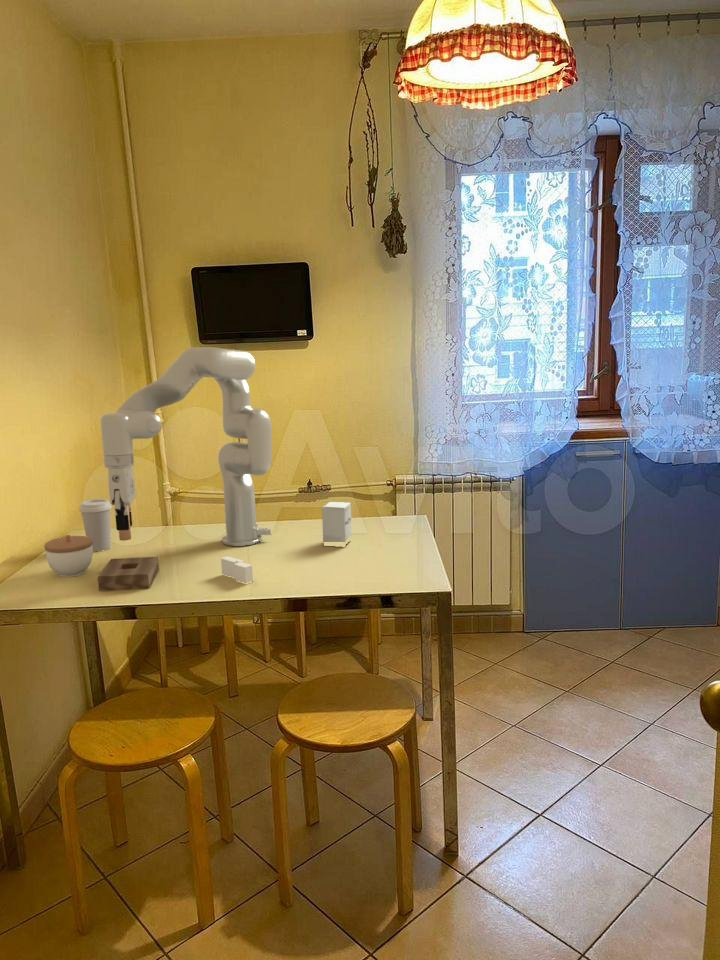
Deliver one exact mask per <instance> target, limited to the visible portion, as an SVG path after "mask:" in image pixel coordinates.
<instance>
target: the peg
mask: <svg viewBox="0 0 720 960" xmlns="http://www.w3.org/2000/svg"><path fill="white" fill-rule="evenodd" d="M120 504H124V502H120ZM121 507H123V506H121ZM126 507H127V515H128V519H129V530H118V537H119V539H118V540H119V541H124V542H125V541H129V540H132V533H131V526H130V517H129V512H130V511H129V505H127V503H126ZM123 509H124V508H123Z"/></svg>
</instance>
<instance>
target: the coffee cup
mask: <svg viewBox="0 0 720 960" xmlns="http://www.w3.org/2000/svg"><path fill="white" fill-rule="evenodd" d="M112 508H113V505H112V504H111V502H110V500H108V499H106V498H105V499H103V498H95V499H88V500H84V501H82V502H81V504H80V507H79V510H78V511H79V512H80V514H81V517H82V523H83V528H84V532H85V533H84V534H85V536H86V537H90V538H92V540H93V544H92V545H93V551H100V552H103V551H102V550H105V551H107V550H106V549H108V550H110V549H111V548H110V547H111V546H112V544H111V543H112V542H111V541H112V540H111V539H112V538H111V532H112V531H111V528H112V527H111V509H112ZM109 548H110V549H109Z"/></svg>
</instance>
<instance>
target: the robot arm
mask: <svg viewBox="0 0 720 960" xmlns="http://www.w3.org/2000/svg"><path fill="white" fill-rule="evenodd" d="M256 368H257V365H256V360H255V358H254V356H253V354H251V353H250V352H249V351H247V350H239V349H228V348H222V347H221V348H220V347H211V346H210V347H209V346H207V347H204V346H203V347H202V346H201V347H200V346H199V347H198V346H197V347H196V346H195V347H190V348H187V349H185V351H183V352H182V353H181V355H180V356H178V357H177V358H176V360H175V361H174V362H173V363H172V364H171V366H169V368H168V369H167V370H166V371H164V372H163V374H162V375H161V376H160V377H159V378H158V379H157V380H154V381H152V382H150V383H149V384H148V385H146V386H144V387H143V388H141V389H139V390H137V391H136V392H134V393H133V394H132V395H131V396H129V397H128V398H127V399H126V400H125V401H124V402H123V403H122V404H121V406H120V407H118V409H117V410H116V412H112V413H106V414H103V415H102V416H101V417H100V430H101V440H102V452H103V465H104V468H106V469H107V470H108V471H107V473H108V476H107V477H108V492H109V493H108V494H109V503H110V504H111V506H114V508H113V509H114V514H115V525H116V530H117V531H119V530H129V519H128V515H127V507H126V503H127V505H129V517H130V527H132V526H133V517H132V516H133V515H132V505H131V503H132V502H134V500H135V499H136V497H137V492H136V484H135V476H134V469H133V467H134V466H135V457H134V444H133V442H134V441H133V440H139V439H141V440H142V439H145V440H148V439H152V438H154V437H156V436H157V435H158V434H159V433H160V432H161V430H162V428H163V427H162V426H163V422H162V419H161V418H160V416H159V415H158V413H156V412H154V411H156V410H158V409H161V408H163V407H168V406H171V405H174V404H176V403H178V402H181V401H183V400H184V399H185V398H186V397H187V395H188V394H189V393H190V392H191V391H192V390H193V388H194V387H195V386H196V385H197V384H198V383H199V381H200V380H201V379H202V378H213V379H214V380H215V381H216V383H217V384H218V386H219V388H220V390H221V393H222V425H223V431H224V432H223V433H225V435H227V436H228V437H229V438H233V439H242V440H247V442H240V441H239V442H238V441H237V442H236V441H235V442H234V441H233V442H228V443H226V444H224V445H223V446H222V447H221V448H220V450H219V452H218V455H217V456H218V460H217V461H218V465H219V468H220V473H221V477H222V483H223V484H222V485H223V497H224V498H223V499H224V513H225V514H224V515H225V516H224V517H225V530H226V534H225V535H224V536H222V538H221V543H222V544H223V545H225V546H229V547H245V546H246V545H247V546H251V545H256V544H258V543H260V542H261V541H262V540H263V536H271V535H272V528H268V527H263V528H262V527H261V528H260V527H259V524H257V515H256V512H257V511H256V495H255V494H256V492H255V490H256V489H255V484H254V481H253V478H252V476H256V477H259V476H264V475H266V474H267V473H268V472H269V470H270V469H271V466H272V461H273V423H272V419H271V417H270V416H269V414H268V413H267V412H266V411H265V410H264V409H261V408H255V407H254V408H253V407H252V404H251V403H252V402H251V391H250V386H249V384H248V382H247V380H248V379H249V378H251V377H252V376H253V375H254V374H255V372H256ZM120 502H124V504H120ZM121 506H123V507H121ZM123 508H124V509H123ZM259 541H260V542H259ZM257 542H258V543H257ZM255 543H256V544H255Z"/></svg>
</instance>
